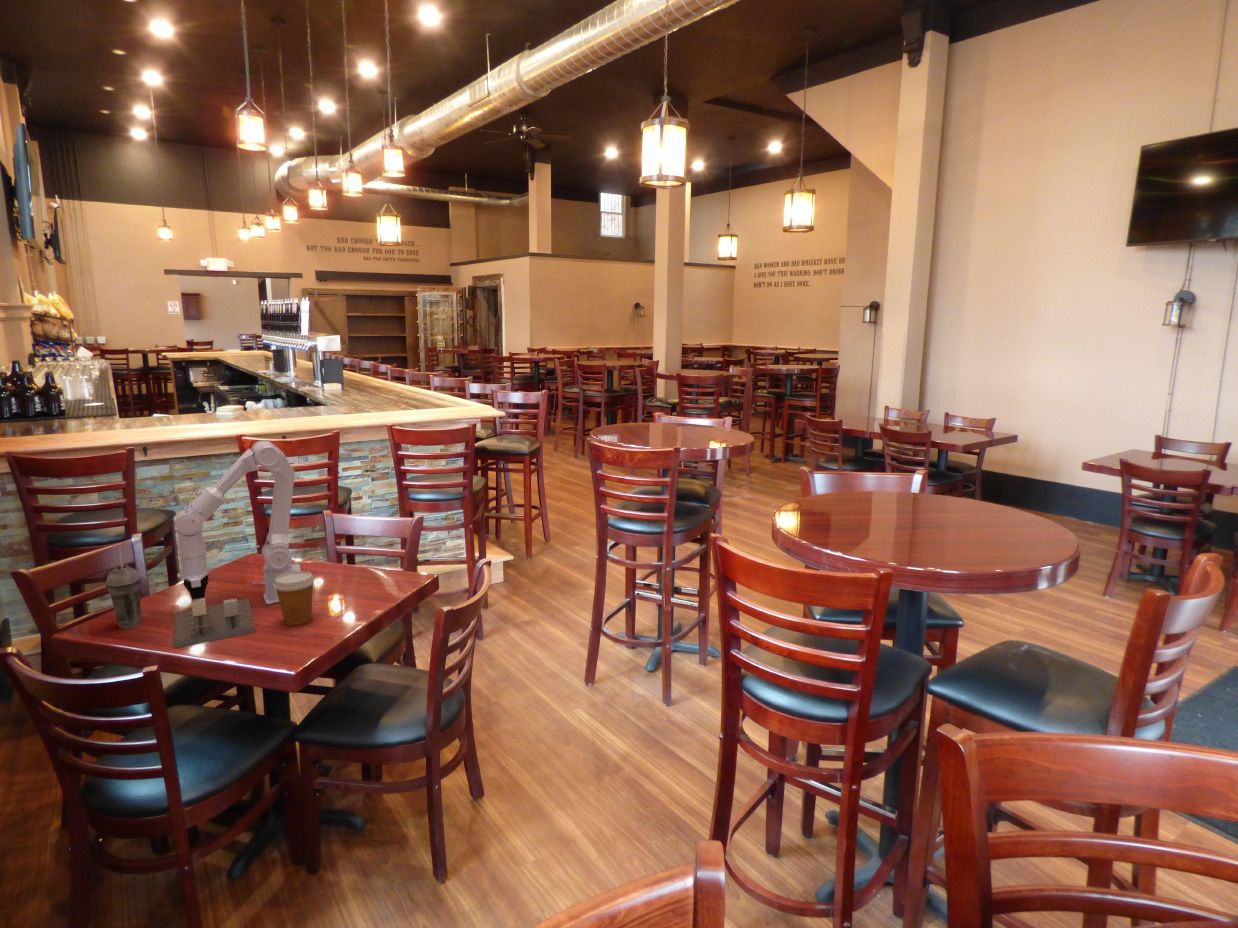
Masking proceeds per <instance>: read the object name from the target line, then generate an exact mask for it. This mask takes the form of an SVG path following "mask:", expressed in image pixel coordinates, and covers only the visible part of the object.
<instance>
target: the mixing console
mask: <svg viewBox="0 0 1238 928" xmlns="http://www.w3.org/2000/svg"><path fill="white" fill-rule="evenodd" d="M237 606H238V614H239V615H236V616H231V617H226V618H225V611H224V603H217V604H212V605H206V611H207V614H205V615H200V616H194V617H193V610H192V608H190V609H182V610H178V611H175V612H174V613H175V615H174V649H179V648H182V647H183V646H184V647H188V646H193V645H198V644H203V643H206V642H213V641H217V640H223V639H227V638H232V637H237V636H242V635H247V634H253V633H256V626H255V622H254V617H253V613H252V612H253V611H252V608H251V605H250V601H249V598H243V599H239V600H237ZM178 647H179V648H178Z"/></svg>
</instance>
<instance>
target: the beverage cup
mask: <svg viewBox="0 0 1238 928" xmlns="http://www.w3.org/2000/svg"><path fill="white" fill-rule="evenodd" d="M122 555H123V554H122V549H121V548H119V549H118V557H119V564H120V566H118V567H116V568H113V570H111V571H110V572H109V574H108V576H107V577H106V585H105V587H107V591H108V593H109V595H110V598H111V601H112V605H113V606H112V607H113V609H114V613H115V617H116V621H117V624H118V626H119V629H121V630H127V629H132V628H135V627H136V628H137V627H138V626H140V625H141V621H142V620H141V617H142V612H141V592H140V591H141V590H140V588H141V581H142V579H141V577H140V574H139V572H138V571H137V570H136V569H135V568H133V567H130V566H127V565H125V566H124V562H123V561H124V560H123V556H122Z"/></svg>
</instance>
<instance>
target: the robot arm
mask: <svg viewBox="0 0 1238 928" xmlns="http://www.w3.org/2000/svg"><path fill="white" fill-rule="evenodd" d="M258 466H259V467H261V468H263V469H264V470H267V471H269V472H270V474H272V475H273V476H274V483H273V491H272V492H273V493H272V500H271V508H270V509H271V510H270V520H269V528H268V533H267V535H266V541H265V543H264V545H263V546H262V548H261V556H262V557H263V559H264V561H265V563H264V565H263V566H262V570H263V580H264V590H265V593H263V599H264V601H265V604H266V605H271V604H275V603H280V602H279V598H278V594H277V590H276V589H275V587H274V583H275V579H276V578H277V577H278V576H280V575H283V574H286V573H290V572H298V571H301V566H300V564H299V563H296V564H295V563H294V564H293V563H292V553H291V552H290V549H289V547H290V543H289V542H290V541H289V540H290V539H289V530H290V529H289V528H290V521H291V520H290V519H291V511H292V503H293V493H294V485H295V484H294V483H295V476H296V474H295V473H296V472H295V469H294V468H293V466H292V465H291V463H290V461H289V460H288V458H287V456H286V455H285V453H284V452H283V451H282V450H281V449H280V448H279V447H277V446H276V445H275V444H273V443H272V442H271V441H268V440H259V441H256V442H255V443H254V444H253V445H252V446H251V448H248V449H247V450H245V451H244V452H243V453H242V454H241V456H240V457H239V458H238V459H237V460H236V461H235V462H234V463H233V464H232V466H231V467H230V468H229V469H228V470H227V471H226V472H225V474H224V475H222V477H221V478H220V479H219V480H218V481H217V482H216V483H215V485H214V486H208V487H204V489H203V490H202V489H199V490H198V492H197V493H196V494H197V496H196V497H195V498H194V499H193V500H192V501H191V502H190V503H189V504H188V505H187V504H186V505H185V506H184V507H183V510H181V511H180V512H179V513H178V514H177V515H176V516H175V521H174V524H175V528H176V529H177V538H178V540H177V543H178V551H179V557H180V565H181V572H178V573H177V575H176V576H177V578H179V579H180V578H183V586H184V587H185V589H187V592H188V593H189V594H190V598H191V600H194V599H200V598H205V599H206V589H207V586H208V584H209V581H210V580H209V579H210V578H209V575H208V574H209V572H210V571H209V568H208V562H207V556H206V547H205V546H206V545H205V537H204V536H203V532H202V531H203V527H204V522H205V521H207V520H209V518H210V517H212V515H213V514H214V513H215V512H216V511H217V510H218V509H219V508H220V507H221V506H222V505H223V504H224V503H225V501H226V499H225V498H226V497H225V495H226V494H227V492H228V491H229V490H231V489H232V488H233V486H235V485H236V484H237V483H238V482H239V481H240V480H241V479H242V478H243V477H244V476H245V475H246V474H248V473H251V472H256V471H260V468H259V467H258Z"/></svg>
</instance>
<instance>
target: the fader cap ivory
mask: <svg viewBox="0 0 1238 928" xmlns="http://www.w3.org/2000/svg"><path fill="white" fill-rule="evenodd" d="M190 601H191V609H192V610H193V617H194V616H200V615H205V614H207V611H206V606H207V604H206V597H205V598H200V599H194V600H192V599H191V600H190Z"/></svg>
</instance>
